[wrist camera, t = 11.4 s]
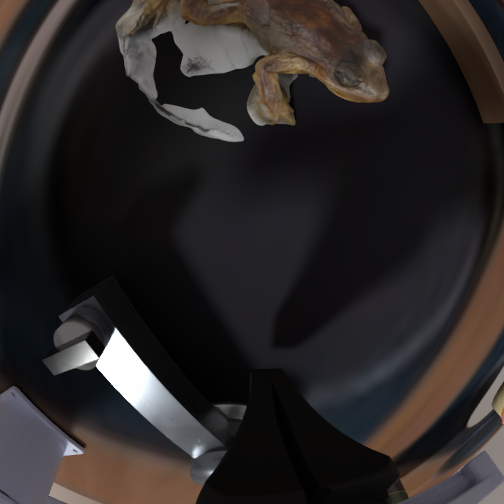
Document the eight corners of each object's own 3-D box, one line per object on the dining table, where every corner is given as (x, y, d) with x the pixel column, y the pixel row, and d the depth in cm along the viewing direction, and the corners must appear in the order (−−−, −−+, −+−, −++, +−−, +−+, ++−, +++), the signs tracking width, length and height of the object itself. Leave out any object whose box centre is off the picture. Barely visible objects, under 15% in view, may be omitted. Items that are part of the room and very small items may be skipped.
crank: (275, 446, 15) (284, 497, 11) (216, 462, 15) (216, 510, 11) (134, 262, 10) (91, 312, 6) (66, 302, 11) (20, 351, 7)
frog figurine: (419, 57, 10) (465, 38, 6) (266, 210, 11) (284, 229, 8) (261, -66, 7) (270, -106, 3) (86, 56, 8) (45, 28, 5)
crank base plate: (216, 462, 16) (216, 466, 16) (157, 419, 14) (156, 424, 14) (294, 435, 15) (295, 440, 15) (244, 386, 14) (245, 391, 13)
